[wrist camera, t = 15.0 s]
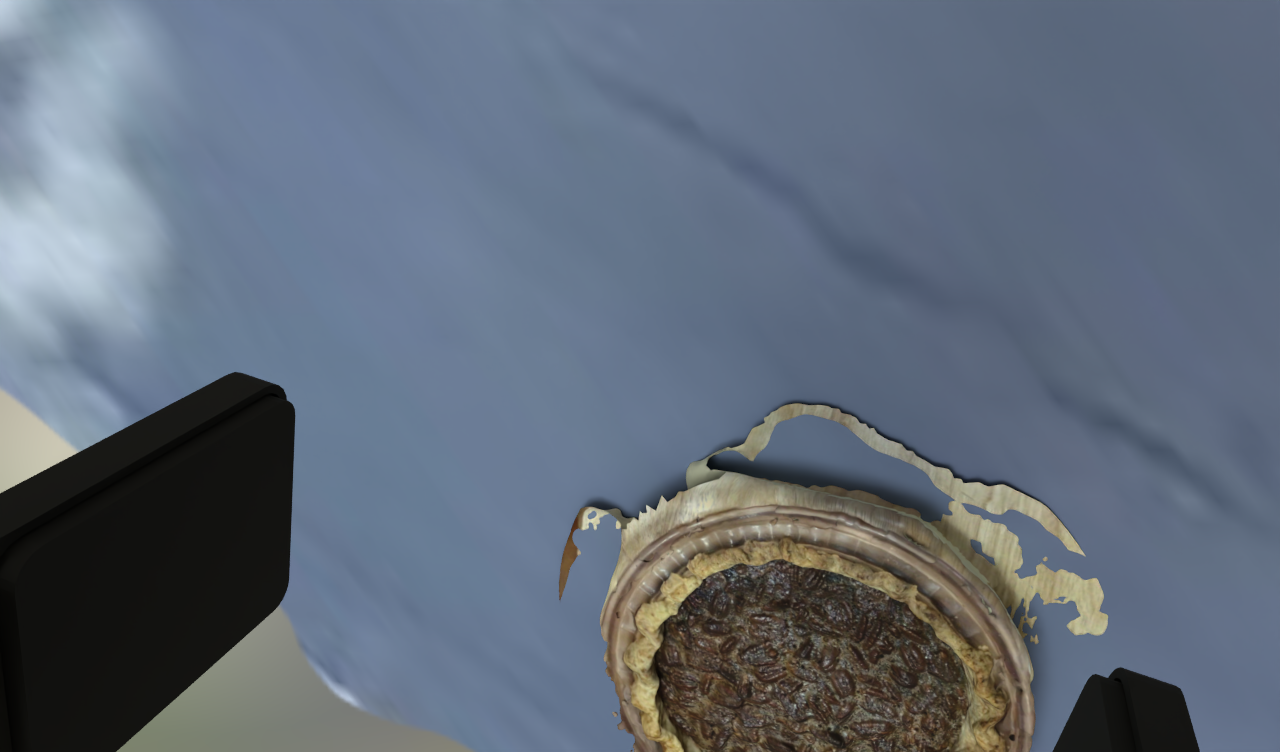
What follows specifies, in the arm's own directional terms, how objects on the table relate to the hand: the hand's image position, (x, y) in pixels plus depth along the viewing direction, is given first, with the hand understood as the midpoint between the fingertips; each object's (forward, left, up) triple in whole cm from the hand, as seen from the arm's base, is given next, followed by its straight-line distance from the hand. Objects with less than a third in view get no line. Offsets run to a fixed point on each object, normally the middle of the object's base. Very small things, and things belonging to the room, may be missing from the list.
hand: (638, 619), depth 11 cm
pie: (-3, +25, -34) cm, 42 cm away
